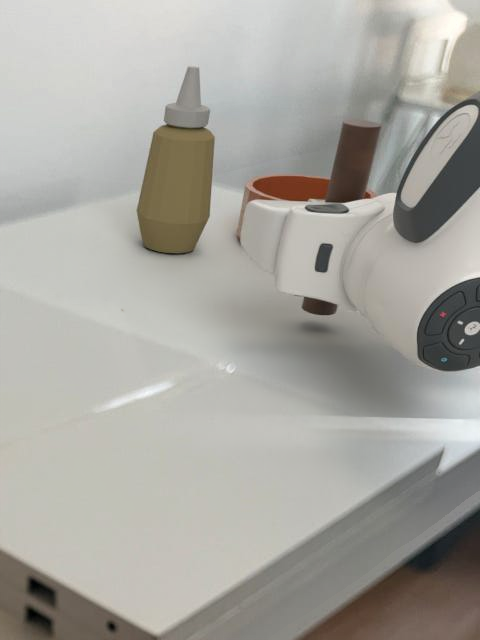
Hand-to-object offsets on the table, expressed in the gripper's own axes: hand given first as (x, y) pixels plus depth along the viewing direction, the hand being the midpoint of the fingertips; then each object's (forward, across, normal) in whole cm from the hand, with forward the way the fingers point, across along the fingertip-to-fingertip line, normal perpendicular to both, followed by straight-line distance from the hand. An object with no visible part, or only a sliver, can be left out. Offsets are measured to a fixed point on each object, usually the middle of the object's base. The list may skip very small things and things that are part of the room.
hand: (338, 209), depth 92 cm
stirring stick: (-1, 0, +9) cm, 9 cm away
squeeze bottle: (+23, +10, +11) cm, 27 cm away
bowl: (+26, -6, +10) cm, 29 cm away
